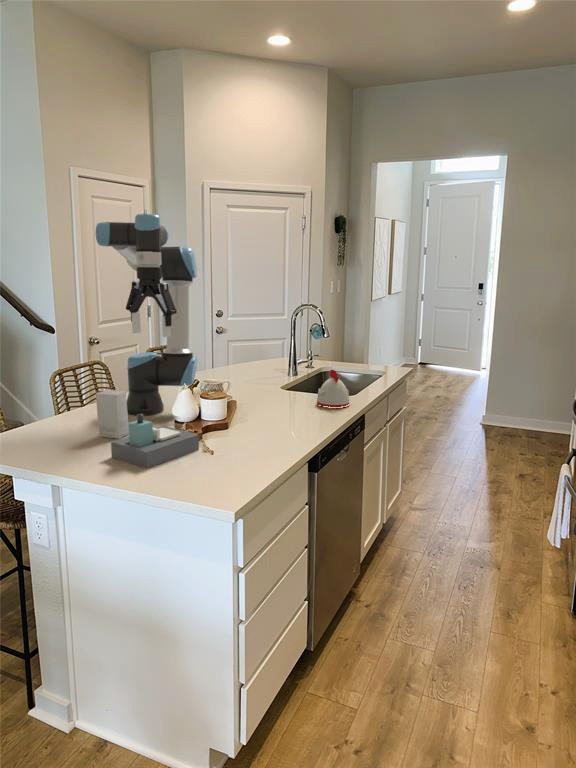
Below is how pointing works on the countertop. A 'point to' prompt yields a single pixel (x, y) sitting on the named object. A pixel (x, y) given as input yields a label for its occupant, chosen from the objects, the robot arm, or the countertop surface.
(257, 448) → the countertop surface
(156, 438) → the white l-shaped bracket
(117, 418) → the skincare box
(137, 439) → the teal square bottle
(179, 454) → the socket block
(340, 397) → the white knitted dome
